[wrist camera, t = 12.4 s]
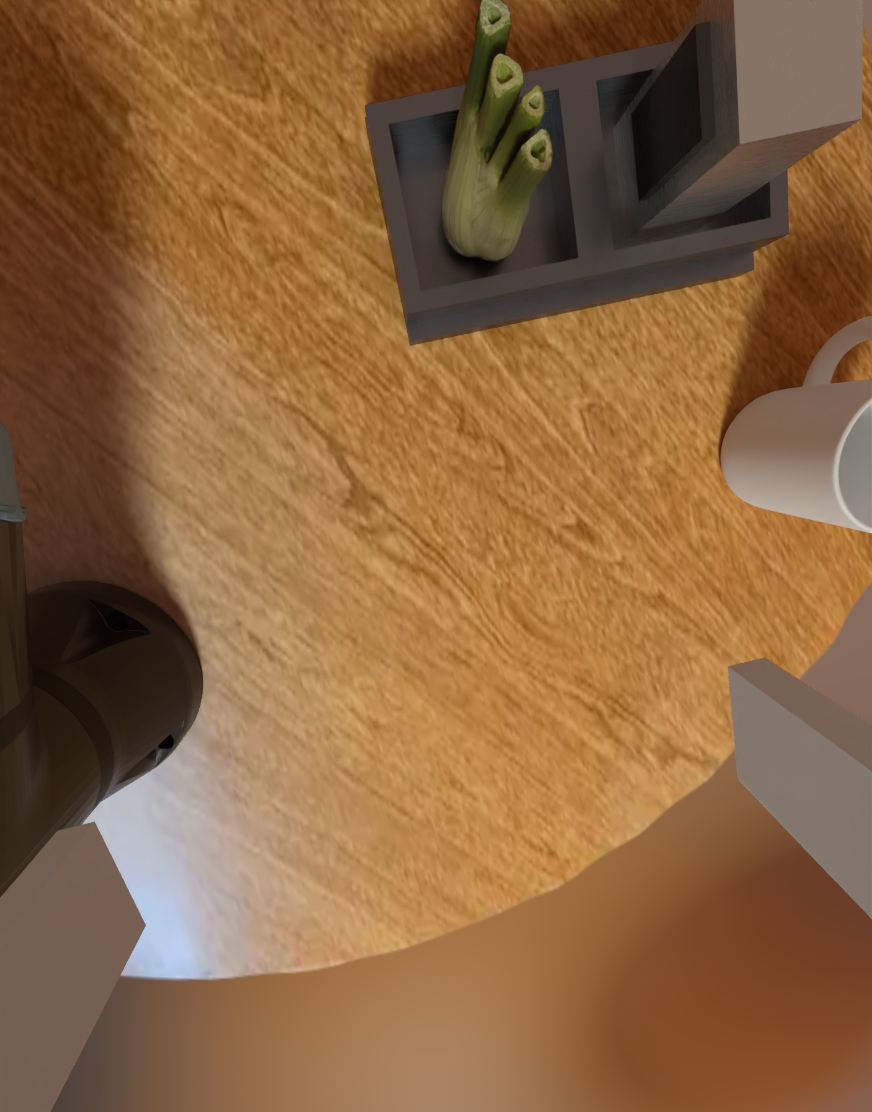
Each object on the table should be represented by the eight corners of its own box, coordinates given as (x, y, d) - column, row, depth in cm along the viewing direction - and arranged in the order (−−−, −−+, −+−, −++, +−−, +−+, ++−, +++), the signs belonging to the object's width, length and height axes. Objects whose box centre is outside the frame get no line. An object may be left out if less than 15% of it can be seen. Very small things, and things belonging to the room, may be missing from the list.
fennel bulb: (441, 157, 29) (464, -24, 17) (524, 164, 29) (602, -9, 18) (436, 268, 31) (455, 170, 19) (516, 273, 31) (583, 180, 19)
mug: (749, 322, 34) (893, 278, 24) (861, 342, 35) (1047, 307, 25) (701, 499, 37) (812, 525, 27) (806, 514, 37) (953, 545, 27)
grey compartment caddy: (409, 345, 33) (412, 297, 21) (367, 132, 30) (340, -70, 18) (738, 276, 33) (931, 188, 21) (728, 57, 30) (946, -194, 18)
